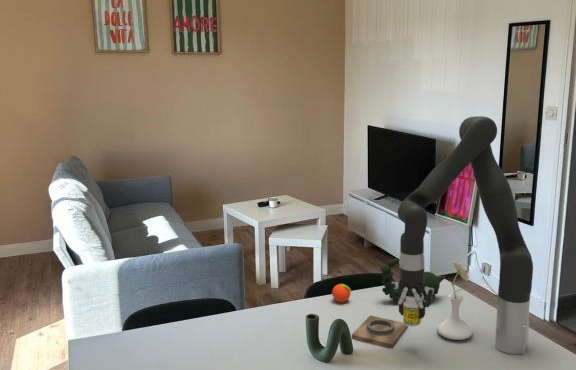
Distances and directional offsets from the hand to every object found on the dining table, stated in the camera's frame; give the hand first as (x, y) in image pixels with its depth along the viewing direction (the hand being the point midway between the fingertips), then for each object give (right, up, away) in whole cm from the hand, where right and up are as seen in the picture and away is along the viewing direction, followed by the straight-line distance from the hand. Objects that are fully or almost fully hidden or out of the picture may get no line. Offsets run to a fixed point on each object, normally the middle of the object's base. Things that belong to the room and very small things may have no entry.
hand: (411, 315), depth 177 cm
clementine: (-18, -4, +38) cm, 43 cm away
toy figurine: (+9, -3, +37) cm, 39 cm away
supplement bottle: (0, -3, +1) cm, 3 cm away
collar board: (-8, -9, +13) cm, 18 cm away
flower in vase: (+17, -9, +11) cm, 22 cm away
